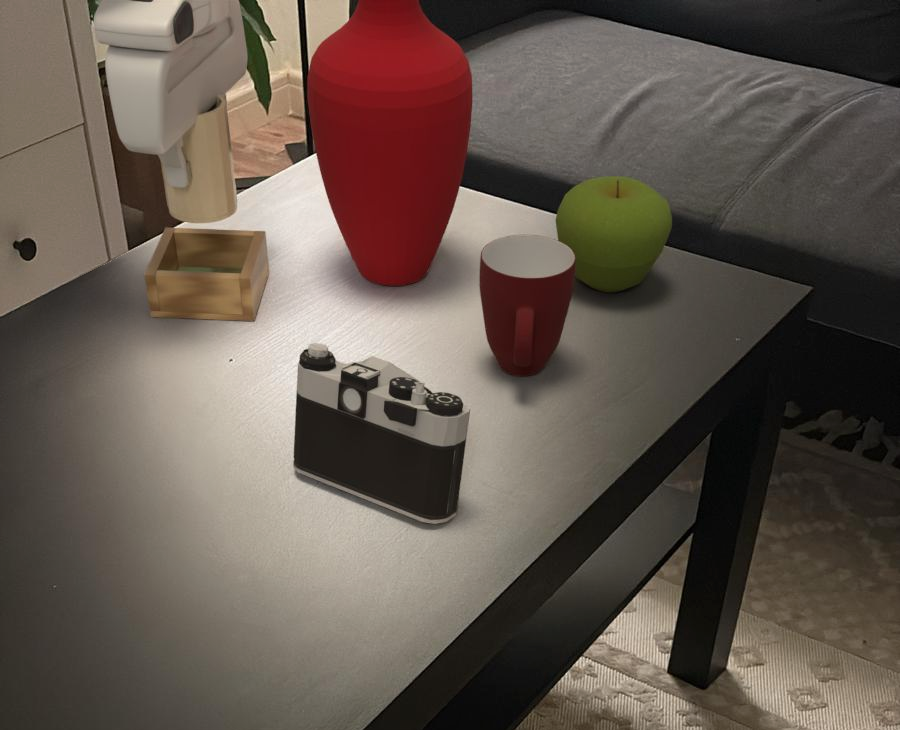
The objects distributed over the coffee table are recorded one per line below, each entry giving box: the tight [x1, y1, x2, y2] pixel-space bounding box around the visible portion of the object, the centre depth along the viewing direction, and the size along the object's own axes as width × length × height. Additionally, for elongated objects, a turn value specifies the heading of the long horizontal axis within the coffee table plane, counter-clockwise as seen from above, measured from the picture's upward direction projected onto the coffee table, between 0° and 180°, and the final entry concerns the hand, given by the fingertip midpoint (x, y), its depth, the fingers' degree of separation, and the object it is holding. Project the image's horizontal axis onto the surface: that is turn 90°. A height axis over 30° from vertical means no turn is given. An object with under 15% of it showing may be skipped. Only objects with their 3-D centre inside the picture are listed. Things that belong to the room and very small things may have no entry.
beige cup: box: [160, 94, 238, 224], centre depth 113 cm, size 6×6×9 cm
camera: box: [292, 342, 471, 525], centre depth 100 cm, size 15×11×10 cm
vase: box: [306, 0, 473, 287], centre depth 115 cm, size 15×15×30 cm
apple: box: [555, 175, 673, 294], centre depth 121 cm, size 11×10×10 cm
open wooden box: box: [143, 227, 270, 322], centre depth 121 cm, size 10×10×4 cm
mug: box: [478, 234, 576, 377], centre depth 110 cm, size 11×8×10 cm
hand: (197, 166), depth 114 cm, fingers closed on beige cup, 6 cm apart
